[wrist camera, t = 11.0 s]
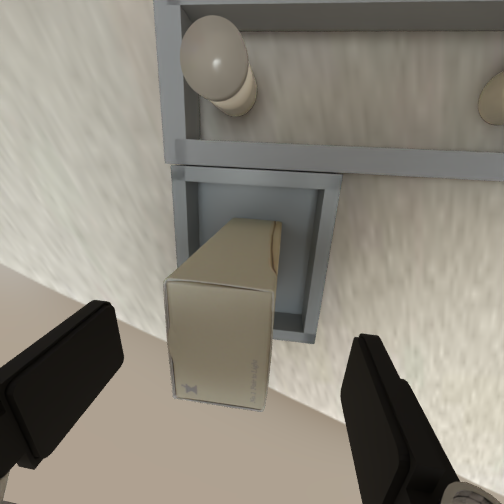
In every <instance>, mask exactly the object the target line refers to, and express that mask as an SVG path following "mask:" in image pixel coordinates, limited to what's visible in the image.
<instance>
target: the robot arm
mask: <svg viewBox="0 0 504 504" xmlns="http://www.w3.org/2000/svg"><path fill="white" fill-rule="evenodd" d="M123 360H124V354H123V349H122V344H121V339H120V334H119V329H118V324H117V319H116V314H115V309H114V307H113V306H112V305H111V303H110V302H107V301H99V300H93V301H91V302H89V303H88V304H87V305H85V306H84V307H83V308H81V309H80V310H79V311H77V312H76V313H74V314H73V315H72V316H70V317H69V318H68V319H66V320H65V321H64V322H62V323H61V324H60V325H58V326H57V327H55V328H54V329H53V330H51V331H50V332H49V333H47V334H46V335H44V336H43V337H42V338H40V339H39V340H38V341H36V342H35V343H34V344H32V345H31V346H30V347H28V348H27V349H25V350H24V351H23V352H21V353H20V354H19V355H17V356H16V357H15V358H13V359H12V360H10V361H9V362H8V363H6V364H5V365H4V366H2V367H1V368H0V504H16V503H11V502H7V501H3V497H4V493H5V489H6V485H7V480H8V476H9V472H10V469H11V468H12V467H13V466H14V465H15V464H16V463H17V464H18V466H19V467H24V468H28V469H33V470H34V469H35V468H36V467H37V466H38V464H39V463H40V462H41V461H42V460H43V458H46V457H48V456H49V455H50V454H51V453H52V452H53V451H54V450H55V448H56V447H57V446H58V445H59V443H60V442H61V441H62V440H63V438H64V437H65V436H66V434H67V433H68V432H69V431H70V429H71V428H72V427H73V426H74V424H75V423H76V422H77V421H78V419H79V418H80V417H81V415H82V414H83V413H84V412H85V411H86V409H87V408H88V407H89V406H90V404H91V403H92V402H93V401H94V399H95V398H96V397H97V396H98V394H99V393H100V392H101V391H102V389H103V388H104V387H105V386H106V384H107V383H108V382H109V381H110V379H111V378H112V377H113V376H114V374H115V373H116V372H117V371H118V369H119V368H120V367H121V365H122V363H123ZM341 403H342V408H343V413H344V418H345V422H346V427H347V432H348V437H349V441H350V446H351V451H352V456H353V460H354V465H355V470H356V475H357V479H358V484H359V489H360V494H361V499H362V503H363V504H501V503H500V502H499V501H498V500H497V499H495V498H494V497H493V496H492V495H490V494H489V493H487V492H485V491H484V490H482V489H481V488H479V487H477V486H474V485H472V484H469V483H467V482H460V480H459V479H458V477H457V475H456V473H455V471H454V469H453V467H452V465H451V463H450V461H449V459H448V458H447V456H446V454H445V452H444V450H443V448H442V446H441V444H440V442H439V440H438V438H437V437H436V435H435V433H434V431H433V429H432V427H431V425H430V423H429V421H428V419H427V417H426V416H425V414H424V412H423V410H422V408H421V406H420V404H419V402H418V400H417V398H416V396H415V395H414V393H413V391H412V389H411V387H410V385H409V384H408V382H407V381H406V380H404V379H400V377H399V375H398V373H397V371H396V369H395V367H394V365H393V363H392V361H391V359H390V357H389V355H388V353H387V351H386V349H385V347H384V345H383V343H382V341H381V339H380V337H379V336H377V335H370V334H360V335H359V337H354V340H353V343H352V347H351V351H350V355H349V359H348V363H347V367H346V371H345V375H344V379H343V383H342V387H341Z"/></svg>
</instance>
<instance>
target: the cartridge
mask: <svg viewBox="0 0 504 504" xmlns="http://www.w3.org/2000/svg"><path fill="white" fill-rule="evenodd" d="M478 109H479V113H480V116H481V117H482V119H483V120H484V121H486V122H487V123H489V124H493V125H502V124H504V71H503V72H501V73H499V74H498V75H496V76H495V77H493V78H492V79H491V80H490V81H489V82H488V83H487V85H486V86H485V87H484V89H483V91H482V93H481V95H480V98H479V103H478Z"/></svg>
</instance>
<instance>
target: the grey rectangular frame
mask: <svg viewBox="0 0 504 504" xmlns="http://www.w3.org/2000/svg"><path fill="white" fill-rule="evenodd" d="M153 5H154V19H155V33H156V47H157V61H158V74H159V88H160V102H161V116H162V130H163V143H164V157H165V163H168V164H187V165H205V166H224V167H243V168H262V169H281V170H300V171H319V172H337V173H356V174H375V175H394V176H413V177H432V178H450V179H469V180H488V181H504V153H497V152H474V151H451V150H427V149H404V148H380V147H357V146H333V145H310V144H286V143H263V142H239V141H216V140H200V114H199V94H198V93H197V92H195V91H194V90H193V89H192V88H191V87H190V86H189V84H188V83H187V81H186V79H185V77H184V75H183V73H182V69H181V65H180V47H181V43H182V40H183V37H184V35H185V33H186V31H187V30H188V28H189V27H190V26H191V25H192V24H193V23H194V22H195V21H196V20H198V19H200V18H202V17H205V16H209V15H217V16H221V17H223V18H226V19H227V20H229V21H230V22H232V23H233V24H234V25H235V26H236V28H237V29H238V30H239V31H497V30H504V0H153Z"/></svg>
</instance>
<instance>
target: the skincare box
mask: <svg viewBox="0 0 504 504" xmlns="http://www.w3.org/2000/svg"><path fill="white" fill-rule="evenodd" d="M281 229H282V222H280V221H269V220H259V219H246V218H232V219H231V220H230V221H229V222H228V223H227V224H226V225H225V226H223V227H222V228H221V229H220V230H219V231H218V232H217V233H216V234H215V235H214V236H213V237H211V238H210V239H209V240H208V241H207V242H206V243H205V244H204V245H202V246H201V247H200V248H199V249H198V250H197V251H196V252H195V253H194V254H193V255H192V256H191V257H189V258H188V259H187V260H186V261H185V262H184V263H183V264H182V265H181V266H180V267H179V268H177V269H176V270H175V271H174V272H173V273H172V274H171V275H170V276H168V277H167V278H166V279H165V280H164V282H163V288H164V304H165V318H166V333H167V345H168V353H169V364H170V373H171V383H172V393H173V398H174V399H181V400H188V401H194V402H200V403H206V404H212V405H218V406H224V407H230V408H238V409H245V410H251V411H257V412H263V411H264V408H265V404H266V397H267V390H268V382H269V373H270V363H271V351H272V338H273V324H274V311H275V298H276V287H277V275H278V264H279V253H280V241H281Z"/></svg>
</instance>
